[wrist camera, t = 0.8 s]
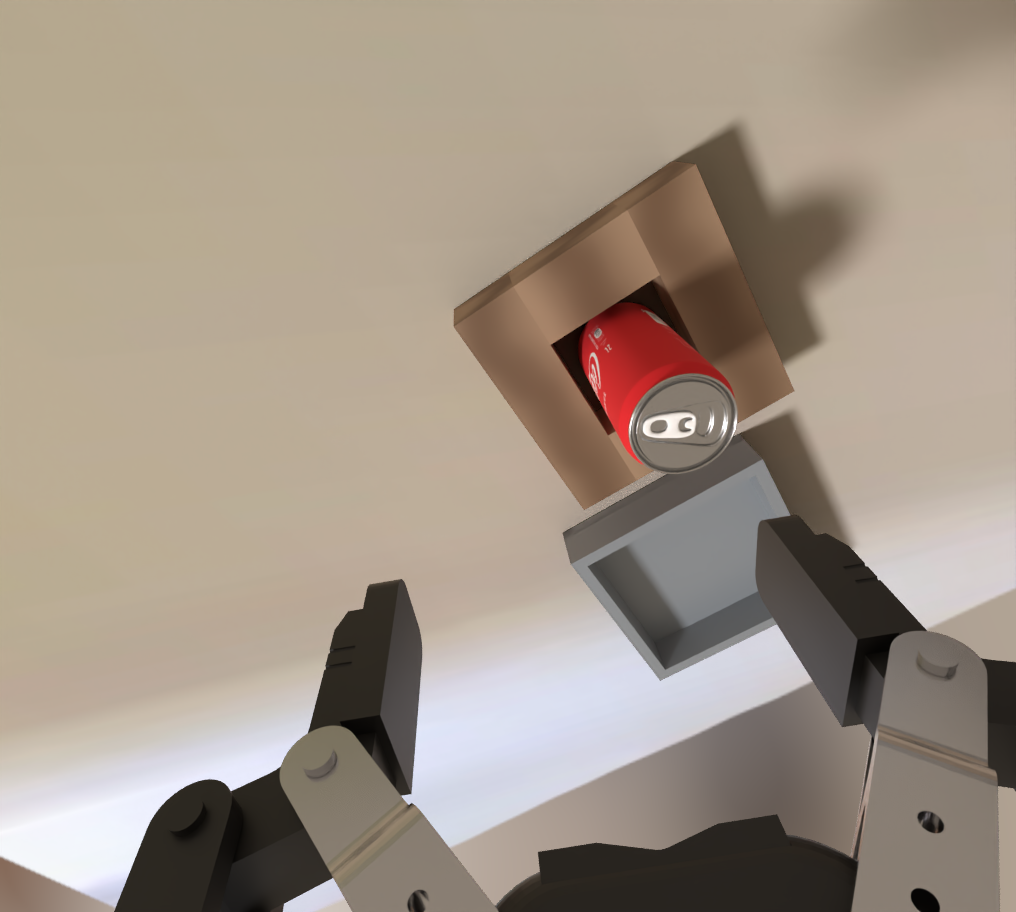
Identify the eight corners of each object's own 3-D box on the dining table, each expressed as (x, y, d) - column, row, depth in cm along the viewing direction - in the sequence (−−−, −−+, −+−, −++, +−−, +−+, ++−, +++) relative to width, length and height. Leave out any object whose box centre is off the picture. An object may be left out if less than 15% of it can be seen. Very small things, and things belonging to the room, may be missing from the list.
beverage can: (656, 378, 37) (735, 475, 27) (573, 384, 37) (620, 483, 27) (663, 294, 35) (752, 364, 24) (575, 300, 35) (626, 372, 24)
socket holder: (672, 161, 32) (695, 164, 28) (766, 369, 38) (794, 390, 35) (454, 309, 34) (453, 326, 31) (574, 481, 40) (584, 510, 37)
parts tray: (739, 434, 40) (762, 459, 37) (806, 566, 46) (831, 597, 42) (562, 533, 42) (570, 564, 39) (647, 645, 48) (660, 680, 45)
